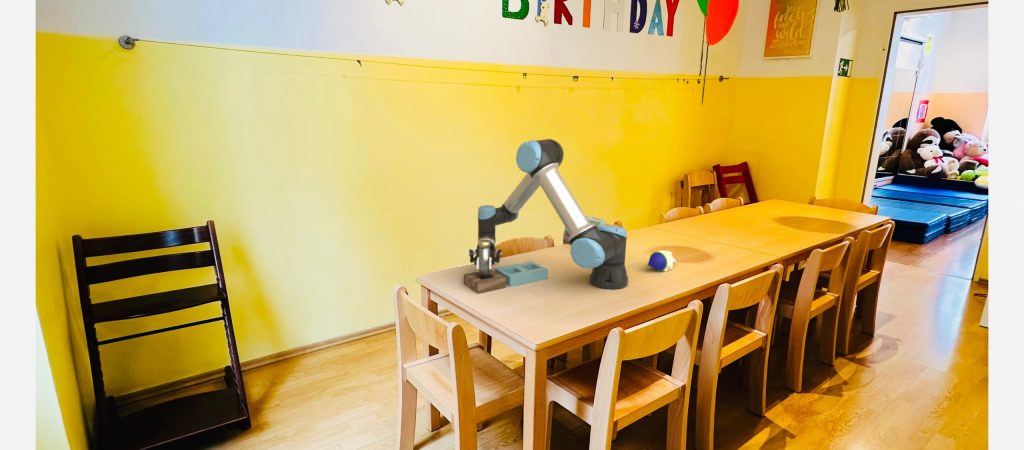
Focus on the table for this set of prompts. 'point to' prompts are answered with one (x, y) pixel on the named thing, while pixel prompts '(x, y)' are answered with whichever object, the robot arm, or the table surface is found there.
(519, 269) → the block
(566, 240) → the snack box
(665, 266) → the cartoon head
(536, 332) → the table surface
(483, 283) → the socket block
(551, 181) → the robot arm
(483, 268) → the grey metal cylinder
